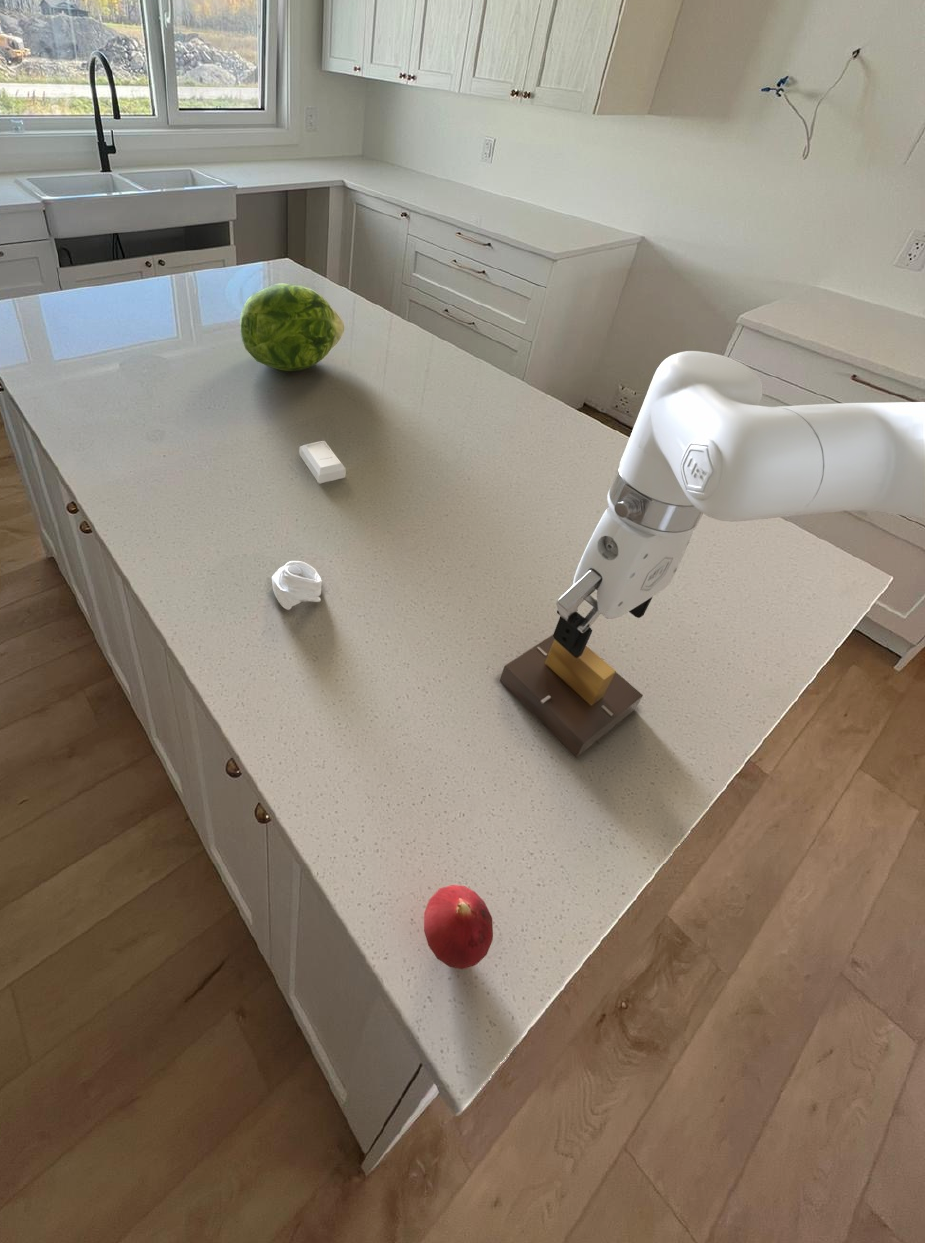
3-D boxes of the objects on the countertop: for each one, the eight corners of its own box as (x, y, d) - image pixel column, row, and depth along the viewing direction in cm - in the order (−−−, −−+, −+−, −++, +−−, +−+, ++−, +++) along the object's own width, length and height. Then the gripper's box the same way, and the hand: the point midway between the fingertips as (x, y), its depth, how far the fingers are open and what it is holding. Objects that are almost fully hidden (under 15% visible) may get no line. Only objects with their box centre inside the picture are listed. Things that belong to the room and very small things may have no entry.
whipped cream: (264, 585, 89) (259, 560, 86) (305, 566, 92) (302, 541, 89) (290, 621, 84) (285, 595, 81) (333, 599, 86) (330, 574, 84)
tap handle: (602, 697, 74) (617, 669, 70) (591, 706, 73) (604, 678, 69) (556, 655, 78) (567, 627, 75) (544, 663, 77) (555, 635, 74)
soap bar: (318, 483, 107) (319, 471, 106) (299, 455, 114) (299, 442, 112) (345, 477, 109) (346, 465, 108) (324, 449, 115) (325, 437, 114)
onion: (482, 908, 58) (500, 872, 53) (486, 985, 54) (505, 953, 49) (419, 899, 58) (431, 863, 54) (417, 975, 54) (430, 942, 49)
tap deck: (635, 709, 76) (644, 694, 74) (575, 758, 71) (583, 742, 69) (558, 641, 84) (564, 626, 82) (498, 680, 78) (504, 665, 76)
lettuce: (356, 375, 140) (365, 292, 132) (260, 383, 128) (264, 292, 120) (314, 352, 154) (320, 275, 146) (223, 357, 142) (224, 274, 134)
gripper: (631, 557, 48) (570, 692, 58) (752, 489, 56) (680, 617, 66) (555, 502, 52) (512, 636, 63) (677, 447, 61) (621, 573, 71)
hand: (598, 626), depth 64 cm, fingers open, 9 cm apart
